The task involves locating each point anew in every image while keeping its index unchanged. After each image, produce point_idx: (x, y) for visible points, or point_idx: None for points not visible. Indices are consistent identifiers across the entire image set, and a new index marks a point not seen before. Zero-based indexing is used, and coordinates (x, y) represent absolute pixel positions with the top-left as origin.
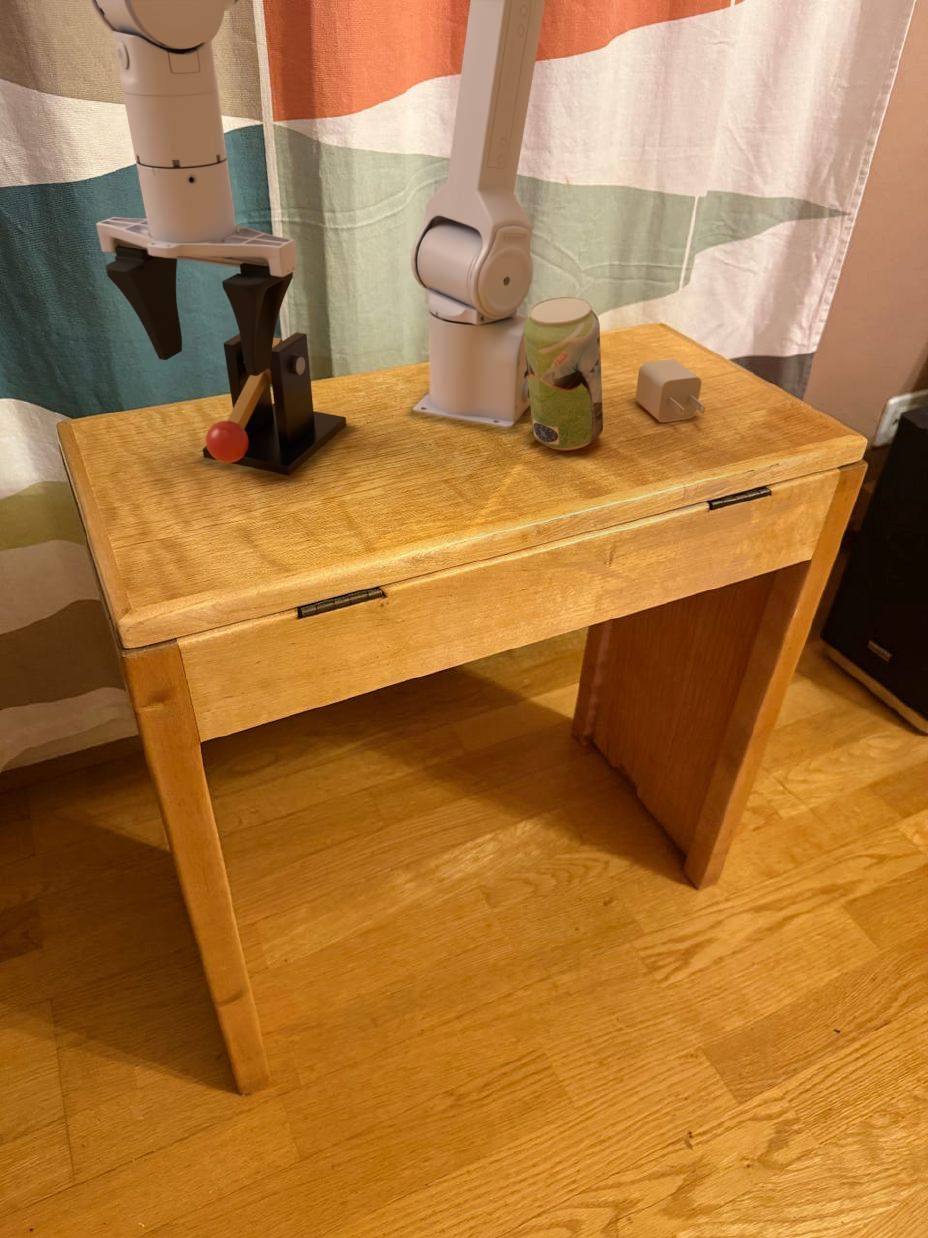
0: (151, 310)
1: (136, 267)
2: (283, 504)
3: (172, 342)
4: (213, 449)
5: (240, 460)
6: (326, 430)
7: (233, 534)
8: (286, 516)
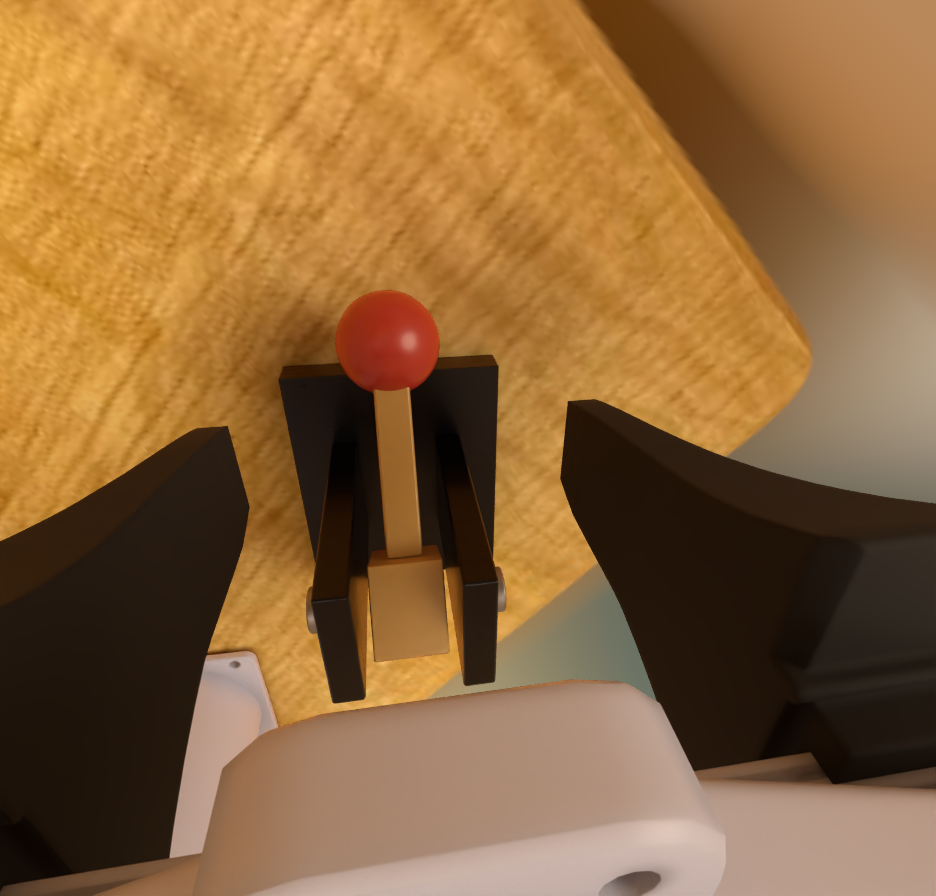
0: (655, 487)
1: (817, 624)
2: (220, 272)
3: (577, 467)
4: (391, 293)
5: None
6: (315, 529)
7: (218, 88)
8: (173, 226)
